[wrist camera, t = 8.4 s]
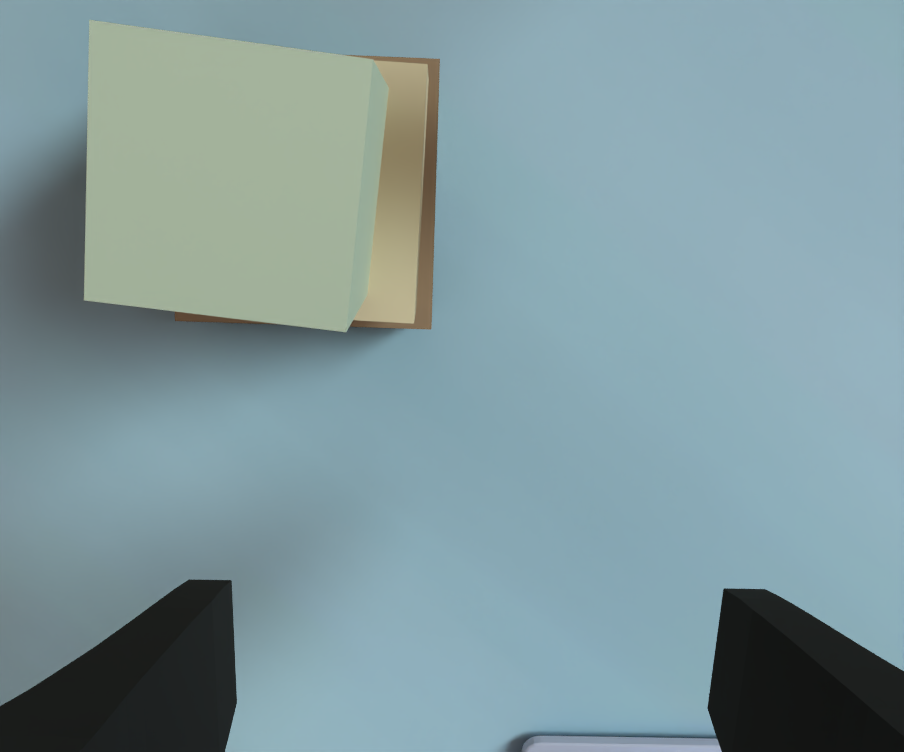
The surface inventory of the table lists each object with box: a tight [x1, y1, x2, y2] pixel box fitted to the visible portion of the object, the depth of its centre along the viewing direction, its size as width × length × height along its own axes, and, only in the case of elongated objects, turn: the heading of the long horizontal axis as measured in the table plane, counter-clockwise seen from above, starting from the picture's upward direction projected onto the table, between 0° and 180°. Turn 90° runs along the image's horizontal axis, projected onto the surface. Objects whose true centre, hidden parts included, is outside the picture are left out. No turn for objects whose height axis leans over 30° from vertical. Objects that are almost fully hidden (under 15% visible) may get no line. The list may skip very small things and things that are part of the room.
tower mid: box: [353, 60, 429, 324], centre depth 17 cm, size 5×5×2 cm
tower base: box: [175, 55, 440, 329], centre depth 20 cm, size 6×6×2 cm
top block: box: [84, 20, 389, 332], centre depth 14 cm, size 4×4×4 cm
